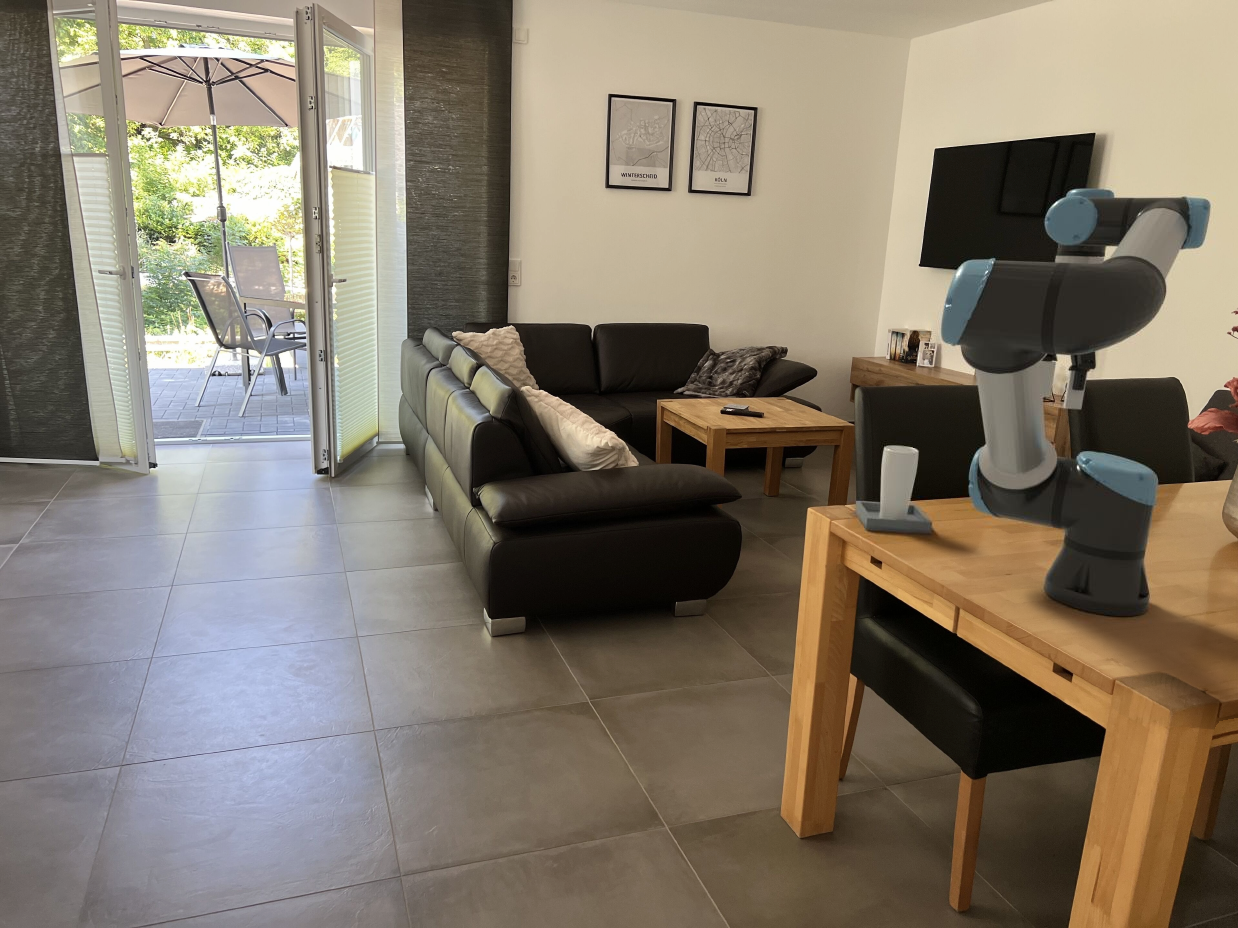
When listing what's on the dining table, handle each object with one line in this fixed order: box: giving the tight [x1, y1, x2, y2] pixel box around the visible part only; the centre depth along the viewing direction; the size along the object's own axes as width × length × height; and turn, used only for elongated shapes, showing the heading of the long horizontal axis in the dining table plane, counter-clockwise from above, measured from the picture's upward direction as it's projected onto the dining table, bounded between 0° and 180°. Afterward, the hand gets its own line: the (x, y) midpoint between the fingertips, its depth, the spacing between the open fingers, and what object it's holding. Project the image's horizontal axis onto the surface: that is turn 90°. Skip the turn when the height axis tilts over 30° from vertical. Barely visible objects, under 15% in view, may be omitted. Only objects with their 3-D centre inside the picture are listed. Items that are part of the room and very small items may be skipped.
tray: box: [854, 500, 933, 535], centre depth 180 cm, size 13×13×2 cm
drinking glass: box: [879, 445, 920, 520], centre depth 177 cm, size 7×7×15 cm
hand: (1056, 402), depth 159 cm, fingers open, 13 cm apart
